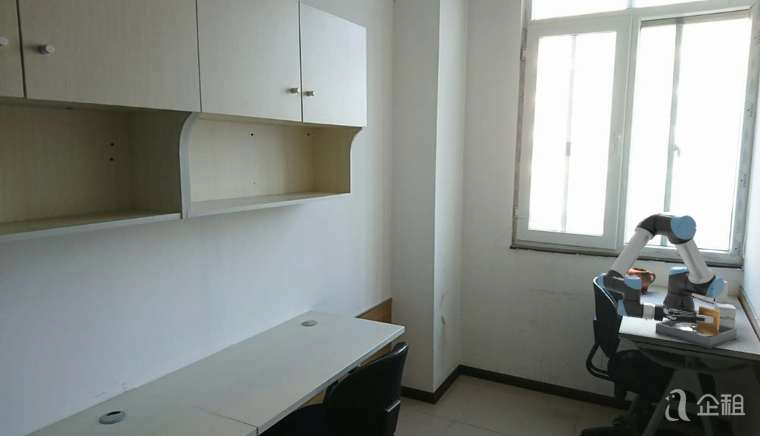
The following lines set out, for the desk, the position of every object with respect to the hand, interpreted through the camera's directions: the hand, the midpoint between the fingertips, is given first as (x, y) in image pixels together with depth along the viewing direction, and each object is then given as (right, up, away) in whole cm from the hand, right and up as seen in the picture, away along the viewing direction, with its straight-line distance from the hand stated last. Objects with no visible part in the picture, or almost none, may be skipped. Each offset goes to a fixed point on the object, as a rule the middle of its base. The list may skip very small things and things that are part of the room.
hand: (713, 320), depth 230 cm
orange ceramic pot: (+9, +1, +84) cm, 84 cm away
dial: (-2, -7, +8) cm, 11 cm away
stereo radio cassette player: (+40, -2, +68) cm, 79 cm away
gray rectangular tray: (-3, -9, +9) cm, 13 cm away
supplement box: (+15, -8, +15) cm, 23 cm away
